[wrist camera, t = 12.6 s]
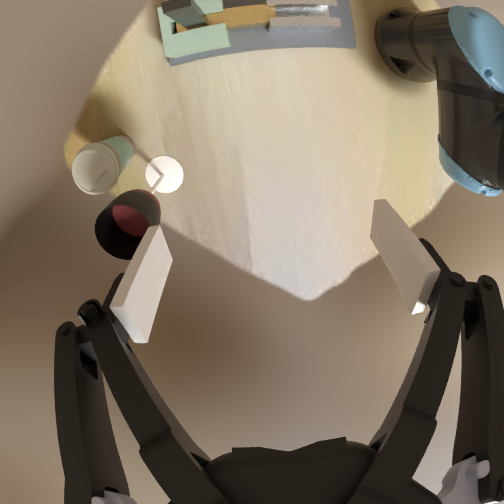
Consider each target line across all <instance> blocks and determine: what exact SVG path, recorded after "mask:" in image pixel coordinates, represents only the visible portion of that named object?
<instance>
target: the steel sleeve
mask: <svg viewBox="0 0 504 504" xmlns="http://www.w3.org/2000/svg"><path fill="white" fill-rule="evenodd" d="M264 4H267V6H274V7H275V13H276V17H272V18H269V21H270V25H269V26H267V27H268V32H280V31H333V30H335V29H337V28H339V27H341V23H340V18H334V17H330V15H329V9H328V7H329V6H337V0H265V2H264Z"/></svg>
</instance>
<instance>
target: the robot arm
mask: <svg viewBox="0 0 504 504" xmlns="http://www.w3.org/2000/svg"><path fill="white" fill-rule="evenodd" d="M375 40H376V45H377V48H378V50H379V53H380V55H381V57H382V58H383V60H384V61H385V63H386V64H387V65H388V66H389V67H390V69H392V70H393V71H394V72H395V73H396V74H398V75H399V76H401V77H402V78H404V79H407V80H410V81H415V82H421V83H425V82H431V81H434V80H437V93H438V112H439V134H438V143H439V159H440V163H441V165H442V167H443V169H444V170H445V172H446V173H447V174H448V175H449V176H450V177H451V178H452V179H453V180H454V181H456V182H457V183H459V184H460V185H462V186H463V187H465V188H467V189H469V190H471V191H473V192H476V193H478V194H479V193H480V192H481V193H482V194H484V195H485V196H497V195H498V194H500V192H501V191H502V190H504V26H503V25H502V24H501V23H500V22H499V21H498V20H497V19H496V18H495V17H494V16H493V15H492V14H490V13H489V12H487V11H485V10H483V9H481V8H478V7H464V6H454V7H450V8H443V9H436V10H431V11H426V12H422V11H418V10H414V9H410V8H396V9H392V10H389V11H387V12H385V13H384V14H383V15H382V16H381V17H380V18H379V19H378V21H377V24H376V27H375ZM370 238H371V240H372V241H373V243H374V245H375V246H376V248H377V250H378V252H379V253H380V255H381V257H382V259H383V260H384V262H385V264H386V266H387V267H388V269H389V271H390V273H391V275H392V277H393V279H394V281H395V282H396V284H397V286H398V288H399V290H400V292H401V294H402V296H403V298H404V300H405V302H406V304H407V306H408V308H409V310H410V312H411V314H415V313H420V312H423V311H424V310H425V307H426V305H427V303H428V305H429V307H430V311H429V313H428V315H427V317H426V319H425V321H424V323H425V326H424V329H423V332H422V335H421V338H420V341H419V344H418V346H417V349H416V352H415V354H414V357H413V360H412V362H411V364H410V367H409V369H408V372H407V374H406V376H405V379H404V381H403V384H402V385H401V388H400V390H399V392H398V394H397V396H396V398H395V401H394V402H393V404H392V407H391V409H390V410H389V412H388V414H387V416H386V418H385V420H384V422H383V424H382V425H381V427H380V429H379V430H378V431H377V433H376V434H375V435H374V437H373V438H372V440H371V441H370V443H369V445H368V446H367V445H364V444H362V443H358V442H352V441H346V437H341V438H336V439H330V440H324V441H318V442H315V443H313V444H310V445H307V446H305V447H302V448H299V449H297V450H294V451H281V450H274V449H268V448H262V447H250V448H249V447H246V448H232V452H230V453H227V454H224V455H221V456H219V457H217V458H215V459H214V460H211V459H210V458H209V457H208V456H207V455H206V454H205V453H204V452H203V451H202V450H201V449H200V448H199V447H198V446H197V445H196V444H195V442H194V441H193V440H192V439H191V437H190V436H189V435H188V433H187V432H186V431H185V430H184V428H183V427H182V426H181V424H180V423H179V422H178V420H177V419H176V417H175V416H174V415H173V413H172V412H171V410H170V409H169V408H168V406H167V405H166V403H165V402H164V400H163V399H162V397H161V396H160V394H159V393H158V391H157V390H156V388H155V387H154V385H153V383H152V382H151V380H150V379H149V377H148V375H147V374H146V372H145V370H144V368H143V367H142V365H141V363H140V362H139V360H138V358H137V356H136V355H135V353H134V351H133V349H132V347H131V346H130V344H129V343H128V340H129V337H131V338H132V339H133V341H134V342H135V343H148V339H149V335H150V331H151V328H152V325H153V321H154V318H155V314H156V311H157V307H158V304H159V300H160V297H161V294H162V291H163V288H164V285H165V282H166V278H167V276H168V272H169V269H170V266H171V263H172V257H171V254H170V252H169V249H168V246H167V244H166V241H165V238H164V236H163V233H162V230H161V228H160V225H157V226H151V227H148V229H147V231H146V233H145V235H144V237H143V238H142V240H141V242H140V244H139V246H138V248H137V250H136V252H135V254H134V256H133V258H132V260H131V262H130V264H129V266H128V268H127V270H126V272H125V273H121V274H119V276H118V277H117V278H116V279H115V280H114V282H113V284H112V286H111V287H112V288H110V290H109V294H108V295H107V297H106V299H105V301H104V303H103V305H102V306H101V304H100V303H99V302H98V300H95V299H91V300H88V301H86V302H85V303H84V304H82V305H81V307H80V308H79V310H78V312H77V313H78V314H77V315H78V317H79V319H80V320H81V321H82V323H83V324H84V325H81V326H78V327H76V326H75V325H74V323H73V322H70V321H68V322H65V323H63V324H62V325H61V326H60V327H59V328H58V330H57V332H56V339H55V356H54V394H55V412H56V424H57V433H58V441H59V448H60V454H61V460H62V465H63V470H64V475H65V489H64V504H137V503H136V502H135V500H134V499H133V498H131V497H130V494H129V488H128V483H127V480H126V476H125V473H124V470H123V467H122V463H121V460H120V457H119V454H118V450H117V446H116V443H115V438H114V434H113V430H112V426H111V421H110V417H109V412H108V407H107V401H106V396H105V389H104V383H103V376H102V371H103V374H104V376H105V378H106V381H107V383H108V385H109V387H110V389H111V392H112V394H113V396H114V398H115V400H116V402H117V404H118V406H119V408H120V410H121V412H122V414H123V416H124V418H125V420H126V422H127V424H128V425H129V427H130V429H131V431H132V433H133V435H134V436H135V438H136V440H137V441H138V443H139V445H140V450H139V453H140V456H141V457H142V459H143V461H144V462H145V464H146V466H147V467H148V469H149V470H150V472H151V473H152V475H153V476H154V478H155V479H156V481H157V482H158V483H159V485H160V486H161V488H162V489H163V490H164V492H165V493H166V494H167V496H168V497H169V498H170V499H171V501H170V502H169V503H168V504H492V503H497V502H500V501H503V500H504V309H503V304H502V300H501V296H500V292H499V288H498V285H497V283H496V281H495V280H494V279H493V278H491V277H490V276H487V275H482V276H480V277H479V279H478V281H477V283H476V282H466V280H465V278H464V277H463V276H462V275H460V274H458V273H456V272H451V271H450V270H449V268H448V267H447V265H446V264H445V262H444V261H443V260H442V258H441V257H440V256H439V255H438V253H437V252H436V251H435V249H434V248H433V246H432V245H431V244H430V243H429V242H428V241H426V240H425V239H423V238H420V239H418V238H417V237H416V236H415V234H414V233H413V232H412V231H411V229H410V228H409V227H408V226H407V224H406V223H405V222H404V221H403V219H402V218H401V217H400V216H399V215H398V213H397V212H396V211H395V210H394V209H393V208H392V206H391V205H390V204H389V203H388V202H387V201H386V199H381V200H374V209H373V218H372V227H371V235H370ZM460 330H461V349H462V371H461V372H462V373H461V393H460V406H459V415H458V422H457V430H456V436H455V442H454V449H453V459H452V467H451V468H450V469H449V471H448V472H447V474H446V475H445V477H444V478H443V480H442V485H443V487H442V490H441V491H440V492H439V493H438V495H437V496H436V495H435V494H434V493H432V492H431V491H429V490H428V489H426V488H425V487H424V486H422V485H421V484H419V483H418V482H416V481H415V480H414V479H412V477H413V475H414V473H415V471H416V469H417V467H418V465H419V464H420V461H421V459H422V457H423V456H424V454H425V452H426V449H427V447H428V445H429V443H430V441H431V438H432V436H433V434H434V431H435V429H436V426H437V421H436V419H435V417H436V414H437V411H438V408H439V406H440V403H441V400H442V397H443V394H444V391H445V388H446V385H447V382H448V379H449V375H450V372H451V368H452V364H453V360H454V357H455V353H456V349H457V344H458V340H459V334H460Z"/></svg>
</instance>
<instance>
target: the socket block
mask: <svg viewBox="0 0 504 504" xmlns="http://www.w3.org/2000/svg"><path fill="white" fill-rule="evenodd" d="M194 1H195V2H196V4H197V5H198V6H199V7H200V9H201V10H202V11H203V13H204V14H210V13H216V12H221V11H223V9H225V8H224V2H223V0H194ZM157 9H158V16H159V22H160V28H161V34H162V40H163V45H164V51H165V56H166V57H170V58H179V57H183V56H187V55H191V54H195V53H200V52H204V51H209V50H214V49H220V48H226V47H231V43H230V37H229V31H227V29H226V23H221V24H216V25H210V26H205V27H201V28H196V29H192V30H188V31H184V32H180V33H177V27H176V21H174V20H173V19H171V18H170V17H168V16H166V15H165V14H163V10H162V6H161V7H158V8H157Z"/></svg>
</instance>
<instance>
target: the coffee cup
mask: <svg viewBox="0 0 504 504" xmlns="http://www.w3.org/2000/svg"><path fill="white" fill-rule="evenodd" d="M134 154H135V146H134V143H133V141H132V140H131V139H130V138H129V137H127V136H125V135H118V136H114V137H111V138H108V139H105V140H102V141H100V142H97V143H89V144H87V145H85V146H84V147H83V148H82V149H81V150H80V151H79V152H78V153H77V155H76V157H75V159H74V161H73V165H72V175H73V178H74V181H75V183H76V184H77V186H78V187H79V188H80V189H81V190H82V191H84V192H85V193H88V194H91V195H97V194H102V193H105V192H107V191H109V190H110V189H112V188H113V187H114V186H115V184H116V183H117V181H118V178H119V176H120V174H121V173H122V172H123V170H124V169H125V168H126V166H127V165H128V164H129V162H130V161H131V160H132V158H133V157H134Z"/></svg>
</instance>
